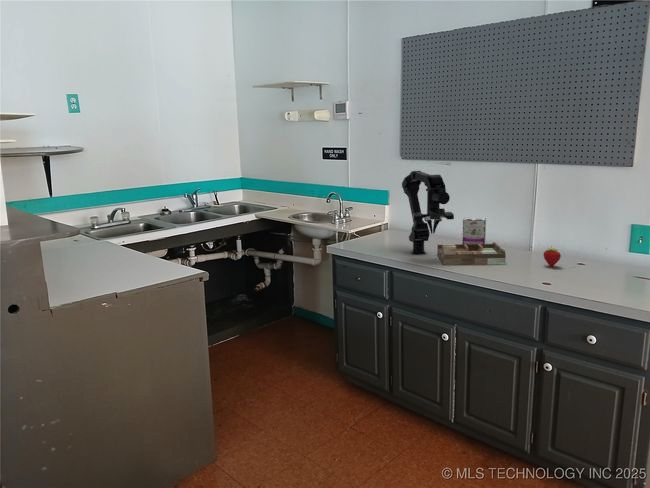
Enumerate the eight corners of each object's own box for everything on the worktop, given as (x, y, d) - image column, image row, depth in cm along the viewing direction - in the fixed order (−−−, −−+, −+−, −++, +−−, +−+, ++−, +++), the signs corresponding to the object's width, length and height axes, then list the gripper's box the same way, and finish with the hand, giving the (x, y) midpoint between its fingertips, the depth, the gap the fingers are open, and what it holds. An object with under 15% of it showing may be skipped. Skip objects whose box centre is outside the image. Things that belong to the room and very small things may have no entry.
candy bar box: (485, 248, 263) (486, 218, 259) (484, 251, 258) (485, 219, 254) (463, 247, 267) (464, 217, 263) (461, 249, 262) (462, 218, 258)
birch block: (442, 252, 247) (442, 244, 246) (453, 251, 247) (453, 243, 246) (444, 254, 242) (444, 246, 241) (455, 254, 242) (456, 246, 241)
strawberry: (555, 269, 223) (556, 247, 221) (539, 266, 229) (541, 244, 227) (562, 267, 226) (564, 245, 224) (547, 263, 232) (548, 242, 230)
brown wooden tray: (437, 254, 255) (437, 242, 254) (493, 253, 253) (494, 241, 252) (443, 265, 236) (444, 252, 234) (505, 264, 234) (505, 251, 232)
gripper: (415, 204, 232) (415, 237, 235) (456, 203, 231) (455, 236, 234) (412, 200, 243) (412, 232, 246) (452, 200, 241) (451, 231, 245)
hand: (432, 233), depth 243 cm, fingers closed
